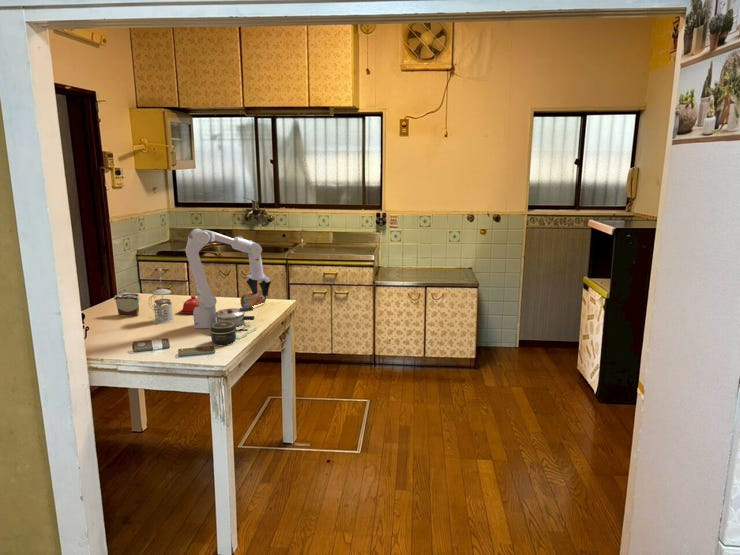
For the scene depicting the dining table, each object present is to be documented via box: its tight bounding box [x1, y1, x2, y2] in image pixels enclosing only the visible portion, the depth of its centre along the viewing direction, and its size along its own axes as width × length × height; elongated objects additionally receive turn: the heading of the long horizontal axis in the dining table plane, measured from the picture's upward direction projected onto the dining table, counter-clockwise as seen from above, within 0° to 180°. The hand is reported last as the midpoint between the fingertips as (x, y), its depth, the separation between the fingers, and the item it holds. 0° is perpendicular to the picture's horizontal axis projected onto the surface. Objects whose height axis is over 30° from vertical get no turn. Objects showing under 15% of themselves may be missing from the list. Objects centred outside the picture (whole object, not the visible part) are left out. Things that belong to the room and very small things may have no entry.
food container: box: [113, 292, 141, 317], centre depth 248 cm, size 12×6×10 cm, turn 84°
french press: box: [148, 268, 176, 325], centre depth 237 cm, size 10×12×25 cm
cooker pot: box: [216, 314, 255, 327], centre depth 229 cm, size 16×12×6 cm
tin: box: [240, 289, 267, 308], centre depth 261 cm, size 15×3×8 cm, turn 143°
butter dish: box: [178, 295, 200, 315], centre depth 253 cm, size 12×12×8 cm
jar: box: [210, 321, 237, 347], centre depth 211 cm, size 10×10×8 cm
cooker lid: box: [215, 306, 254, 319], centre depth 229 cm, size 17×13×2 cm
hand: (260, 294), depth 243 cm, fingers open, 7 cm apart
